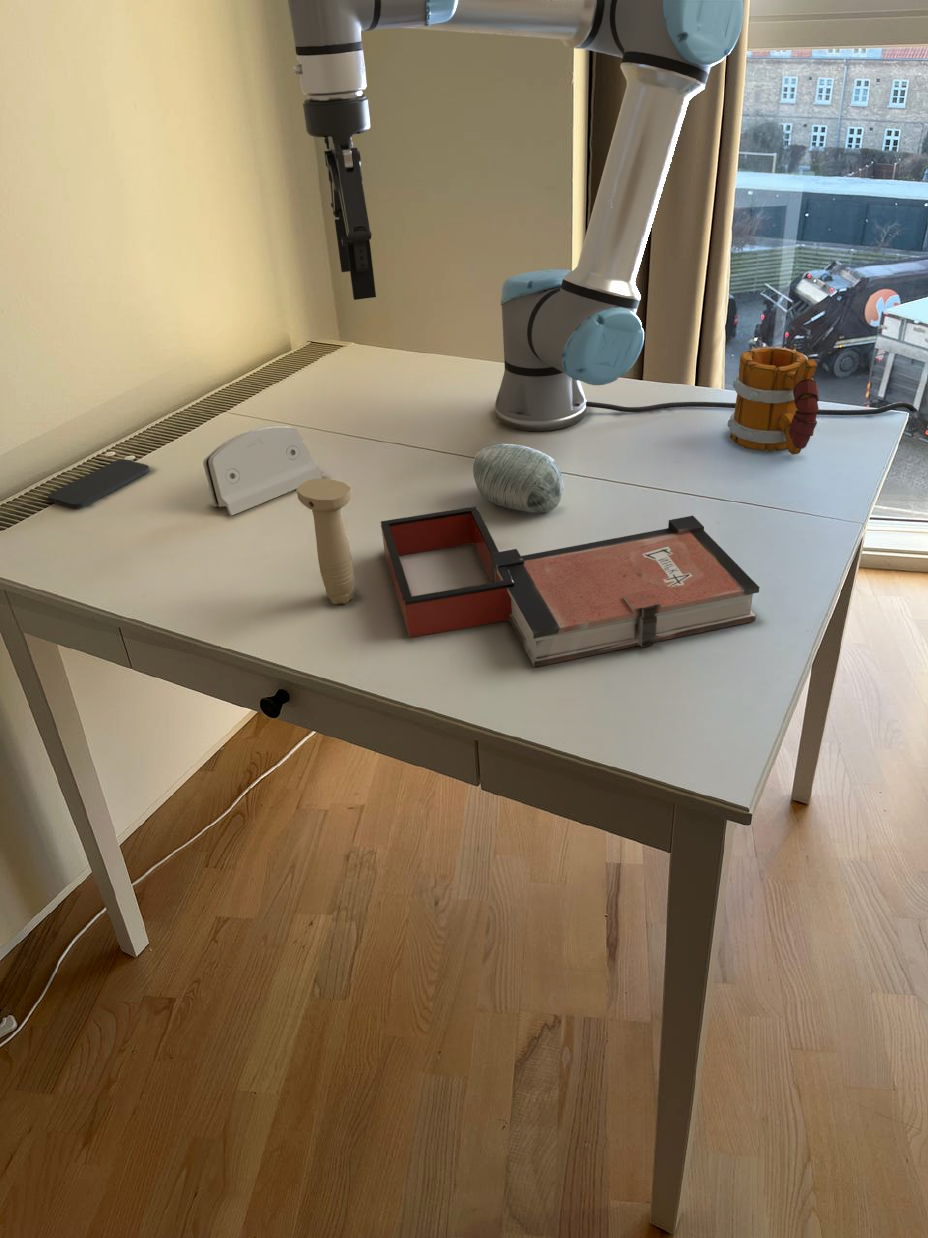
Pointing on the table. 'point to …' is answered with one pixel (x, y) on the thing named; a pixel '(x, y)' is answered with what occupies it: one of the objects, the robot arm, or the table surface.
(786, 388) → the mug
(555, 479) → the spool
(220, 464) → the white piece
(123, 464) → the phone
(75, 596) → the table surface
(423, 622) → the red black rectangular frame
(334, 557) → the handle
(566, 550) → the book
